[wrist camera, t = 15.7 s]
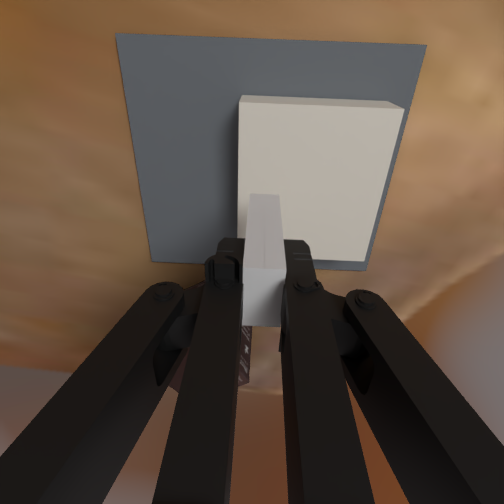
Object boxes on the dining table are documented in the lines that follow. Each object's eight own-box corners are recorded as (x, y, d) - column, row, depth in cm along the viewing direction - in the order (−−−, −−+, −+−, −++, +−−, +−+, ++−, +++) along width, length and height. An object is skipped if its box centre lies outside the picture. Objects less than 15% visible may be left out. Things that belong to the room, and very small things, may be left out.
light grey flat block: (237, 255, 23) (364, 261, 23) (238, 101, 18) (404, 109, 18) (239, 233, 26) (353, 239, 26) (242, 94, 20) (386, 100, 20)
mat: (153, 258, 28) (151, 261, 27) (117, 33, 19) (115, 33, 19) (364, 268, 28) (365, 270, 27) (424, 44, 19) (427, 44, 19)
